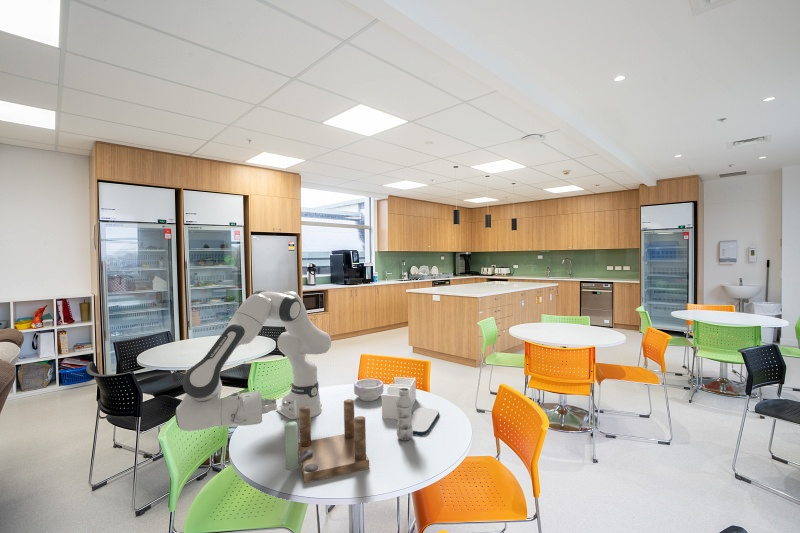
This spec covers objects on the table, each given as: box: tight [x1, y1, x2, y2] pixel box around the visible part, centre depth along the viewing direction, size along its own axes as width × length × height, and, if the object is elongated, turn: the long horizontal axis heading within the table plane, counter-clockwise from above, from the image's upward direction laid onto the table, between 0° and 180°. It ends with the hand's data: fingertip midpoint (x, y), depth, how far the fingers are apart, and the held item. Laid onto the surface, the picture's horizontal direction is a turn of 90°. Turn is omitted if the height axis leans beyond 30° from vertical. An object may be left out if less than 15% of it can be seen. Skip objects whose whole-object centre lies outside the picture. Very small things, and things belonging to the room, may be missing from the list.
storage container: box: [381, 376, 417, 420], centre depth 182 cm, size 25×11×11 cm, turn 167°
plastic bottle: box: [396, 388, 414, 441], centre depth 152 cm, size 6×7×20 cm
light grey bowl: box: [353, 378, 384, 402], centre depth 196 cm, size 15×15×8 cm
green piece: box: [284, 421, 313, 471], centre depth 130 cm, size 12×4×14 cm, turn 155°
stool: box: [298, 398, 370, 483], centre depth 137 cm, size 22×22×17 cm
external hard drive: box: [411, 407, 440, 436], centre depth 166 cm, size 24×12×2 cm, turn 159°
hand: (276, 404), depth 129 cm, fingers open, 3 cm apart
